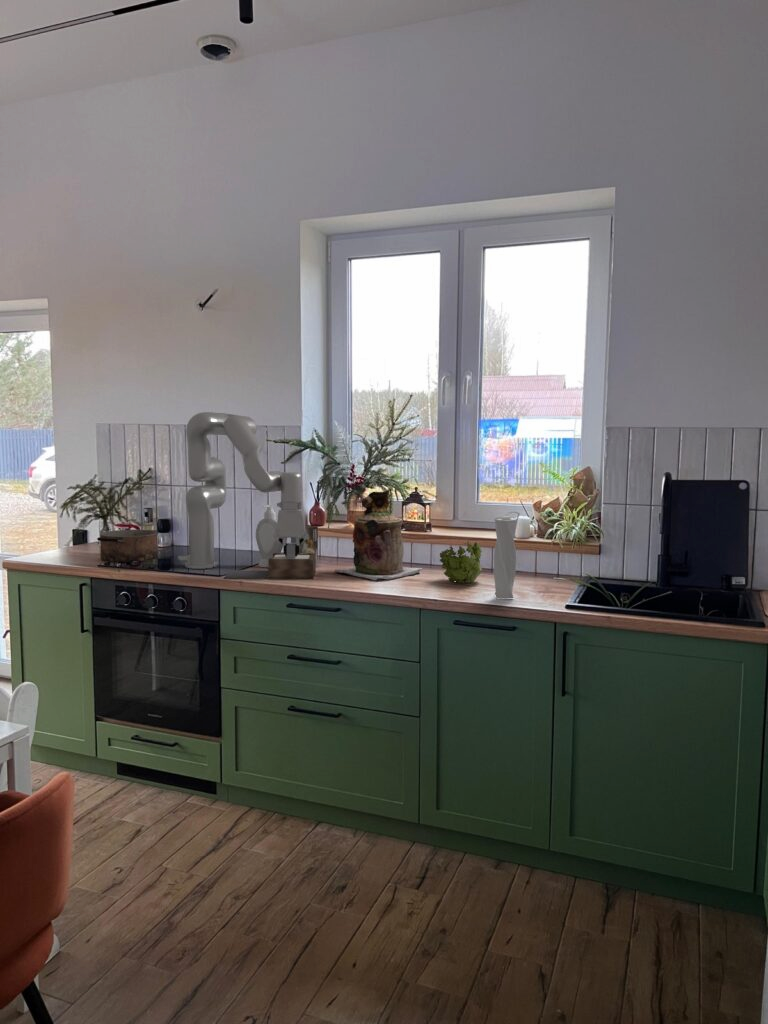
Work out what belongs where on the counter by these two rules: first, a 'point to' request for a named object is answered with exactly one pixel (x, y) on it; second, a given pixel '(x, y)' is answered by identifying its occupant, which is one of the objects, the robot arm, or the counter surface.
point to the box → (292, 567)
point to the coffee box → (309, 542)
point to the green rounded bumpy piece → (462, 563)
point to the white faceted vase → (505, 556)
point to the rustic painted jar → (378, 541)
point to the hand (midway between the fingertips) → (291, 555)
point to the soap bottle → (267, 536)
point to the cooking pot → (129, 545)
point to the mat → (247, 574)
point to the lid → (291, 553)
